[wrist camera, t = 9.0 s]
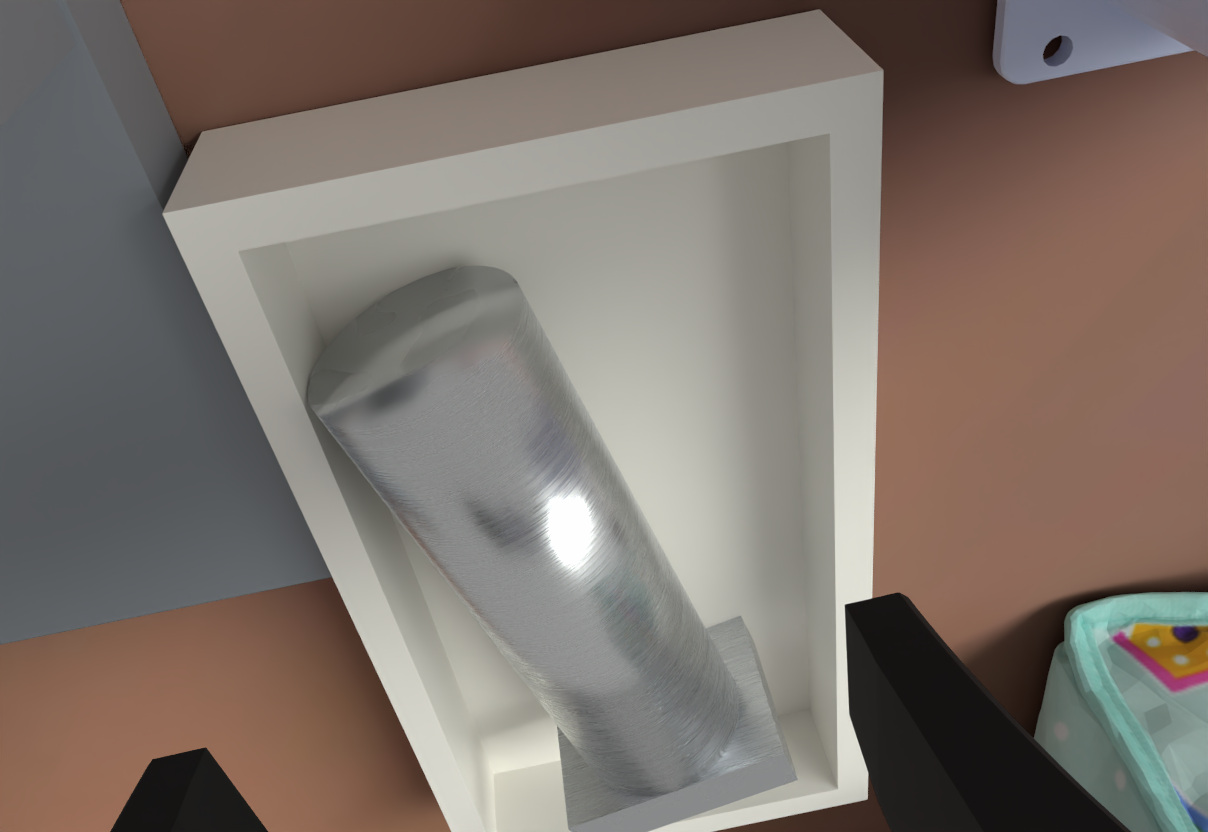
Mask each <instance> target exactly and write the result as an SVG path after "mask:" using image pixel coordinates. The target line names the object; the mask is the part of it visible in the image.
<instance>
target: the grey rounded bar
mask: <svg viewBox="0 0 1208 832" xmlns="http://www.w3.org/2000/svg"><path fill="white" fill-rule="evenodd" d="M308 400H309V404H310V406H311V408H312V410H313V411H314V412H315V414H316V415H317V416H318V418H319V419H320V420H321V421H322V423H323V424H324V425H325V427H326V428H327V429H328V430H329V432H330V433H331V434H332V436H333V437H334V438H335V439H336V441H337V442H338V443H339V445H340V446H341V447H342V449H343V450H344V451H345V452H346V454H347V455H348V456H349V458H350V459H351V460H352V461H353V463H354V464H355V465H356V467H357V468H358V469H359V470H360V472H361V473H362V474H363V476H364V477H365V478H366V479H367V481H368V482H369V483H370V485H371V486H372V487H373V488H374V490H375V491H376V492H377V494H378V495H379V496H380V497H381V499H382V500H383V501H384V503H385V504H386V505H387V506H388V508H389V509H390V510H391V512H392V513H393V514H394V516H395V517H396V518H397V519H398V521H399V522H400V523H401V525H402V526H403V527H404V528H405V530H406V531H407V532H408V534H409V535H410V536H411V537H412V539H413V540H414V541H415V543H416V544H417V545H418V546H419V548H420V549H421V550H422V552H423V553H424V554H425V555H426V557H427V558H428V559H429V561H430V562H431V563H432V564H433V566H434V567H435V568H436V570H437V571H438V572H439V573H440V575H441V576H442V577H443V579H444V580H445V581H446V582H447V584H448V585H449V586H450V588H451V589H452V590H453V592H454V593H455V594H456V595H457V597H458V598H459V599H460V601H461V602H462V603H463V604H464V606H465V607H466V608H467V610H468V611H469V612H470V613H471V615H472V616H473V617H474V619H475V620H476V621H477V622H478V624H479V625H480V626H481V628H482V629H483V630H484V631H485V633H486V634H487V635H488V637H489V638H490V639H491V640H492V642H493V643H494V644H495V646H496V647H497V648H498V649H499V651H500V652H501V653H502V655H503V656H504V657H505V659H506V660H507V661H508V662H509V664H510V665H511V666H512V668H513V669H514V670H515V671H516V673H517V674H518V675H519V677H520V678H521V679H522V680H523V682H524V683H525V684H526V686H527V687H528V688H529V689H530V691H531V692H532V693H533V695H534V696H535V697H536V698H537V700H538V701H539V702H540V704H541V705H542V706H543V707H544V709H545V710H546V711H547V713H548V714H549V715H550V716H551V718H552V719H553V720H554V722H555V723H556V724H557V731H558V740H559V749H560V758H561V767H562V776H563V785H564V795H565V804H566V813H567V822H568V829H569V830H570V831H571V832H649V831H651V830H654V829H657V828H660V827H663V826H666V825H669V824H672V823H675V822H678V821H680V820H683V819H686V818H689V817H692V816H695V815H698V814H701V813H704V812H707V811H709V810H712V809H715V808H718V807H721V806H724V805H727V804H730V803H733V802H736V801H738V800H741V799H744V798H747V797H750V796H753V795H756V794H759V793H762V792H765V791H767V790H770V789H773V788H776V787H779V786H782V785H785V784H788V783H791V782H794V781H796V780H798V778H797V775H796V772H795V768H794V765H793V762H792V759H791V756H790V753H789V750H788V746H787V743H786V740H785V737H784V734H783V731H782V728H781V724H780V721H779V718H778V715H777V712H776V709H775V705H774V702H773V699H772V696H771V693H770V690H769V687H768V683H767V680H766V677H765V674H764V671H763V668H762V665H761V661H760V658H759V655H758V652H757V649H756V646H755V643H754V641H753V639H752V637H751V635H750V633H749V631H748V629H747V627H746V625H745V623H744V621H743V619H742V617H741V616H738V617H735V618H733V619H730V620H727V621H725V622H722V623H719V624H717V625H714V626H711V627H708V628H705V626H704V624H703V622H702V620H701V618H700V617H699V615H698V613H697V611H696V609H695V607H694V606H693V604H692V602H691V600H690V598H689V596H688V594H687V593H686V591H685V589H684V587H683V585H682V583H681V582H680V580H679V578H678V576H677V574H676V572H675V571H674V569H673V567H672V565H671V563H670V561H669V560H668V558H667V556H666V554H665V552H664V550H663V549H662V547H661V545H660V543H659V541H658V539H657V538H656V536H655V534H654V532H653V530H652V528H651V527H650V525H649V523H648V521H647V519H646V517H645V516H644V514H643V512H642V510H641V508H640V506H639V505H638V503H637V501H636V499H635V497H634V495H633V494H632V492H631V490H630V488H629V486H628V484H627V483H626V481H625V479H624V477H623V475H622V473H621V472H620V470H619V468H618V466H617V464H616V462H615V461H614V459H613V457H612V455H611V453H610V451H609V450H608V448H607V446H606V444H605V442H604V440H603V439H602V437H601V435H600V433H599V431H598V429H597V428H596V426H595V424H594V422H593V420H592V418H591V416H590V415H589V413H588V411H587V409H586V407H585V405H584V404H583V402H582V400H581V398H580V396H579V394H578V393H577V391H576V389H575V387H574V385H573V383H572V382H571V380H570V378H569V376H568V374H567V372H566V371H565V369H564V367H563V365H562V363H561V361H560V360H559V358H558V356H557V354H556V352H555V350H554V349H553V347H552V345H551V343H550V341H549V339H548V338H547V336H546V334H545V332H544V330H543V328H542V327H541V325H540V323H539V321H538V319H537V317H536V316H535V314H534V312H533V310H532V308H531V306H530V305H529V303H528V301H527V299H526V297H525V295H524V294H523V292H522V290H521V288H520V286H519V284H518V283H517V281H516V279H515V278H514V277H513V276H512V275H510V274H509V273H507V272H505V271H504V270H501V269H498V268H495V267H489V266H465V267H459V268H453V269H449V270H445V271H441V272H438V273H435V274H432V275H429V276H426V277H424V278H421V279H419V280H416V281H414V282H412V283H410V284H408V285H406V286H404V287H402V288H400V289H398V290H396V291H394V292H392V293H391V294H389V295H387V296H386V297H384V298H383V299H381V300H379V301H378V302H376V303H375V304H373V305H372V306H371V307H369V308H368V309H366V310H365V311H364V312H363V313H361V314H360V315H359V316H358V317H356V318H355V319H354V320H353V321H352V322H351V323H350V324H348V325H347V326H346V327H345V328H344V329H343V330H342V331H341V332H340V333H339V334H338V335H337V336H336V337H335V339H334V340H333V341H332V342H331V343H330V344H329V346H328V347H327V348H326V350H325V351H324V352H323V354H322V355H321V357H320V358H319V360H318V362H317V364H316V365H315V367H314V370H313V372H312V374H311V377H310V381H309V385H308Z"/></svg>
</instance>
